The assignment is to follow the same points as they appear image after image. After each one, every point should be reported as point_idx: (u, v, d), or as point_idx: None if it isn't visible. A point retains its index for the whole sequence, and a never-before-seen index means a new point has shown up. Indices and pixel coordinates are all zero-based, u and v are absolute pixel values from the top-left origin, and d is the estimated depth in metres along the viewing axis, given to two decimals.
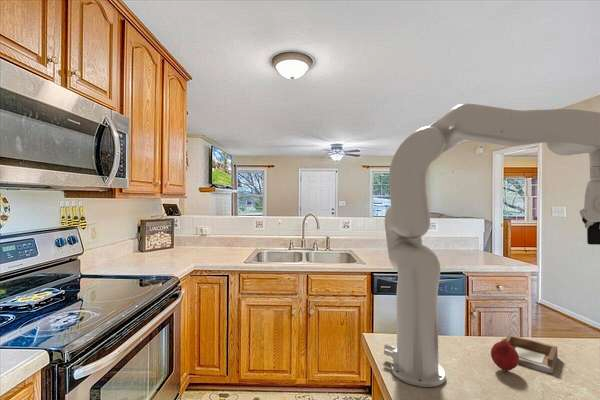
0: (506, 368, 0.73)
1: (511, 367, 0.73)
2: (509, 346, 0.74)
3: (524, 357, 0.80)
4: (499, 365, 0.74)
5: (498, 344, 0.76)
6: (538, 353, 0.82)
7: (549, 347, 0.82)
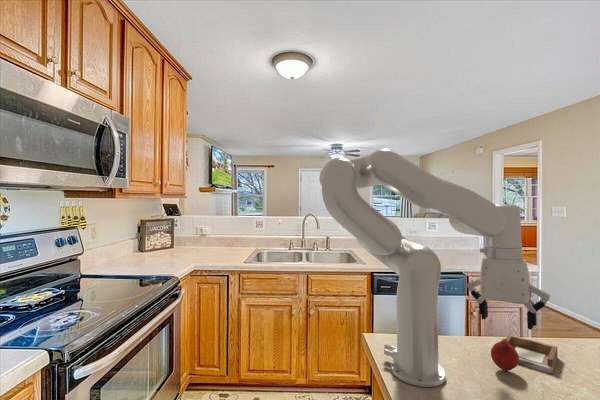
0: (506, 368, 0.73)
1: (511, 367, 0.73)
2: (509, 346, 0.74)
3: (524, 357, 0.80)
4: (499, 365, 0.74)
5: (498, 344, 0.76)
6: (538, 353, 0.82)
7: (549, 347, 0.82)
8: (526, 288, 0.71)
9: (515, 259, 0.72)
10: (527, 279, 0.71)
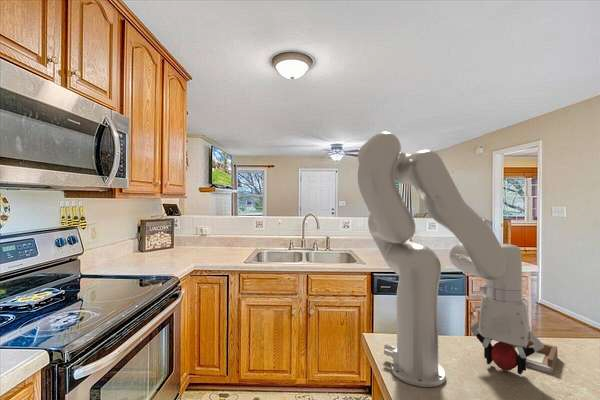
0: (506, 368, 0.73)
1: (511, 367, 0.73)
2: (509, 346, 0.74)
3: None
4: (499, 365, 0.74)
5: (498, 344, 0.76)
6: (538, 353, 0.82)
7: (549, 347, 0.82)
8: (525, 332, 0.70)
9: (515, 301, 0.72)
10: (526, 322, 0.71)
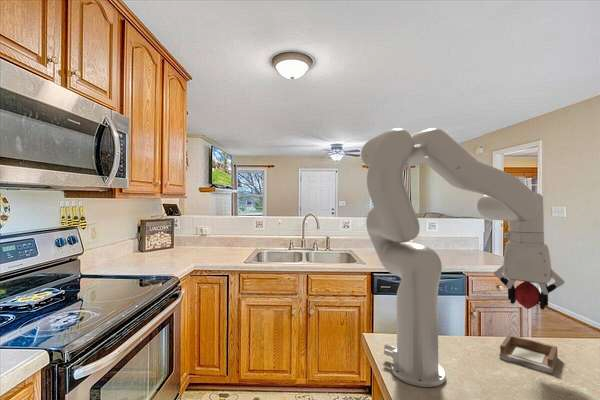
0: (529, 305, 0.80)
1: (534, 303, 0.79)
2: (532, 285, 0.81)
3: (524, 357, 0.80)
4: (523, 302, 0.81)
5: (521, 284, 0.82)
6: (538, 353, 0.82)
7: (549, 347, 0.82)
8: (547, 269, 0.77)
9: (538, 242, 0.78)
10: (548, 261, 0.77)
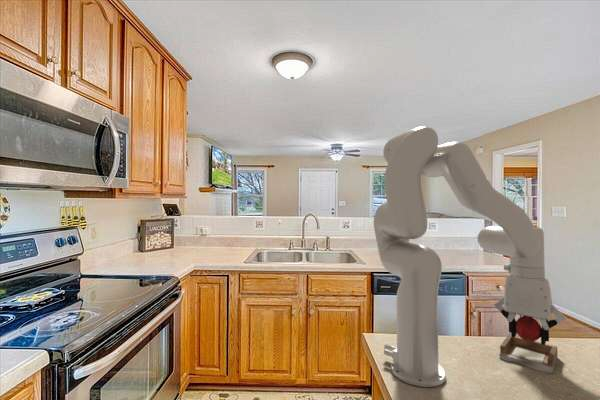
0: (530, 339, 0.80)
1: (535, 338, 0.79)
2: (533, 319, 0.81)
3: (524, 357, 0.80)
4: (524, 337, 0.81)
5: (522, 318, 0.82)
6: (538, 353, 0.82)
7: (549, 347, 0.82)
8: (548, 305, 0.77)
9: (538, 278, 0.78)
10: (549, 297, 0.77)
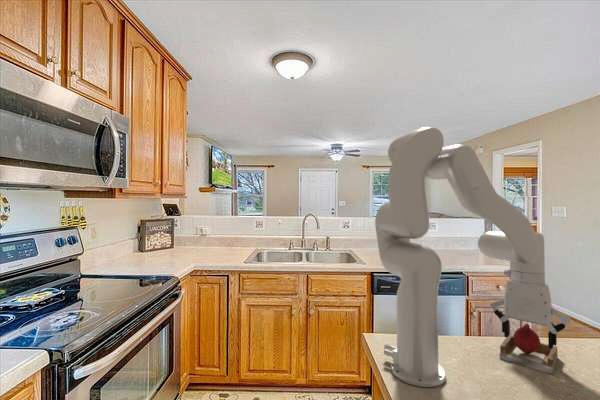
0: (528, 350, 0.80)
1: (533, 349, 0.79)
2: (531, 330, 0.81)
3: (524, 357, 0.80)
4: (521, 348, 0.81)
5: (520, 329, 0.82)
6: (538, 353, 0.82)
7: None
8: (548, 311, 0.77)
9: (538, 283, 0.78)
10: (549, 302, 0.77)
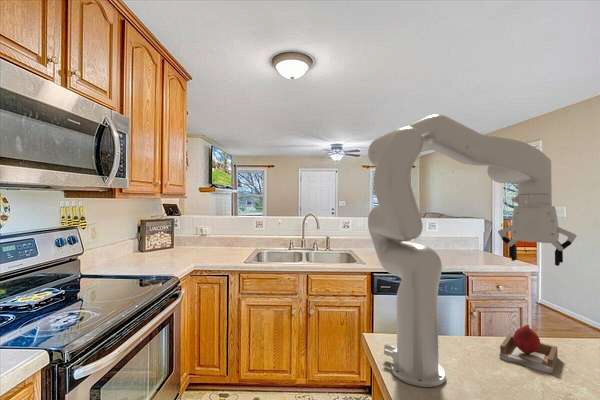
0: (528, 351, 0.80)
1: (533, 350, 0.79)
2: (531, 331, 0.81)
3: (524, 357, 0.80)
4: (521, 348, 0.81)
5: (520, 329, 0.82)
6: (538, 353, 0.82)
7: (549, 347, 0.82)
8: (555, 228, 0.80)
9: (545, 203, 0.81)
10: (556, 221, 0.80)
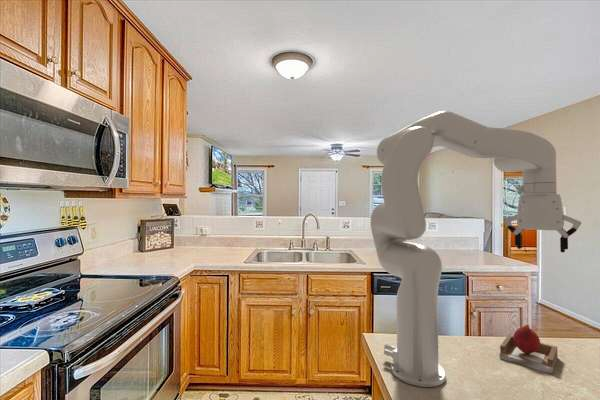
0: (528, 351, 0.80)
1: (533, 350, 0.79)
2: (531, 331, 0.81)
3: (524, 357, 0.80)
4: (521, 348, 0.81)
5: (520, 329, 0.82)
6: (538, 353, 0.82)
7: (549, 347, 0.82)
8: (560, 216, 0.81)
9: (551, 192, 0.83)
10: (561, 208, 0.82)
